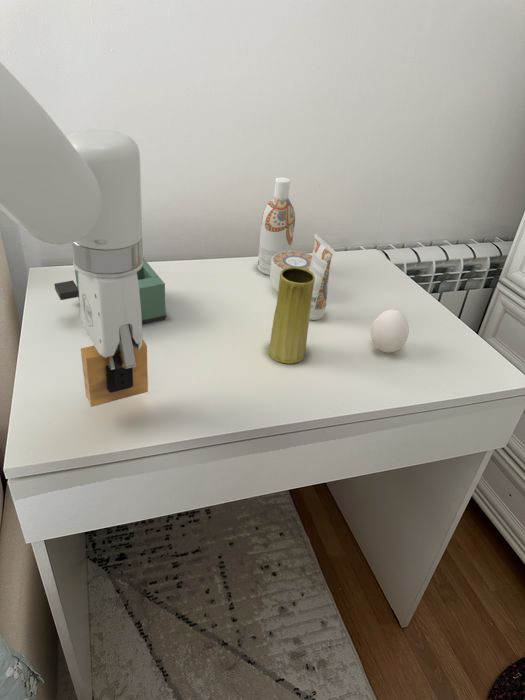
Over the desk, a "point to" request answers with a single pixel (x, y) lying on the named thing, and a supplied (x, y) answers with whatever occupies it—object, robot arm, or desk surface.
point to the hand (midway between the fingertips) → (116, 380)
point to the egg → (389, 331)
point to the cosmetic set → (279, 244)
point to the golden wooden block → (98, 382)
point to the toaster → (148, 294)
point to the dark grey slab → (67, 290)
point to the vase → (292, 315)
